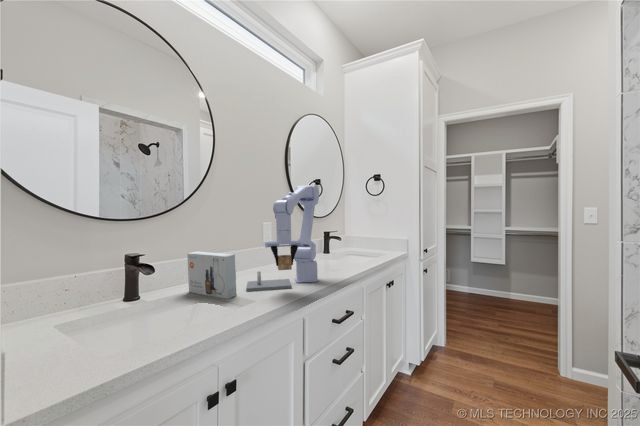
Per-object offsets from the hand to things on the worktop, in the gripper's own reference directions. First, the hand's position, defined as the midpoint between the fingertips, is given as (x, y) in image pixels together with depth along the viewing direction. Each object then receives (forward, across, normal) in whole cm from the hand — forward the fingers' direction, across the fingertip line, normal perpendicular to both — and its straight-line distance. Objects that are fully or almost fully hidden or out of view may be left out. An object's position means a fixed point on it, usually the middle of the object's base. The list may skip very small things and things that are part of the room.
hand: (284, 265), depth 114 cm
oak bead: (+1, 0, 0) cm, 1 cm away
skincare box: (+11, -28, +4) cm, 30 cm away
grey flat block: (+10, -6, +10) cm, 16 cm away
